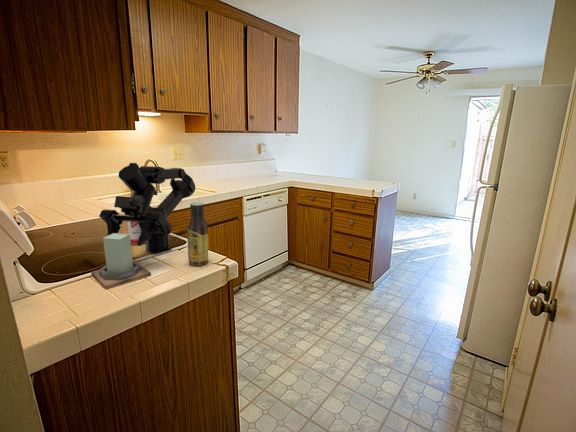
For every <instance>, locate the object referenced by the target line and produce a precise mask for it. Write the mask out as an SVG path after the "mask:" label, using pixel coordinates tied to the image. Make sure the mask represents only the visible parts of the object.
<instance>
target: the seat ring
mask: <svg viewBox="0 0 576 432" xmlns="http://www.w3.org/2000/svg"><path fill="white" fill-rule="evenodd" d="M141 266H142V264H141V263H139V262H138V261H136V260H133V267H134V269H132V270H130V271H126V272H123V273H107V265H106V264H105V265H104V266H103V267H101V268H99V269H98V270H99V275H100V276H101V277H102V278H103V279H104V280H122V279H125V278H129V277H132V276H135V275H136V274H137V273H138V272H139V271H140V270H141V269H142V268H141Z"/></svg>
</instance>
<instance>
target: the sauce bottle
mask: <svg viewBox="0 0 576 432" xmlns="http://www.w3.org/2000/svg"><path fill="white" fill-rule="evenodd" d="M189 208H190V219H189V221H188V226H187V230H186V231H187V258H188V263H189V265H191V266H195V267H199V266H200V267H201V266H204V265H206V264H207V263H208V262H209V231H208V230H209V229H208V222H207V221H206V219H205V214H204V210H205V209H204V208H205V203H204V202H202V201H201V202H200V201H195V202H192V203H190V207H189Z"/></svg>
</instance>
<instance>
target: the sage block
mask: <svg viewBox="0 0 576 432" xmlns="http://www.w3.org/2000/svg"><path fill="white" fill-rule="evenodd" d="M102 242H103V251H104V258H105V265H107V273H123V272H126V271H130V270H132V269H134V268H133V261H134V260H133V253H132V252H133V250H132V243H131V240H130V234H128V233H119V232H118V233H113V234H111V235H109V236H108V235H107V236H105V237H102Z"/></svg>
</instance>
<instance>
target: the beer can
mask: <svg viewBox="0 0 576 432" xmlns="http://www.w3.org/2000/svg"><path fill="white" fill-rule="evenodd" d="M126 224H127V234H130V240H131V245H134V246H136V245H137V243H138V239H139V237H140V234H141V229H140V226H139V222H130V221H126ZM143 244H146V241H145V242H144V243H143ZM143 244H142V245H143ZM137 246H138V245H137Z"/></svg>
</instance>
